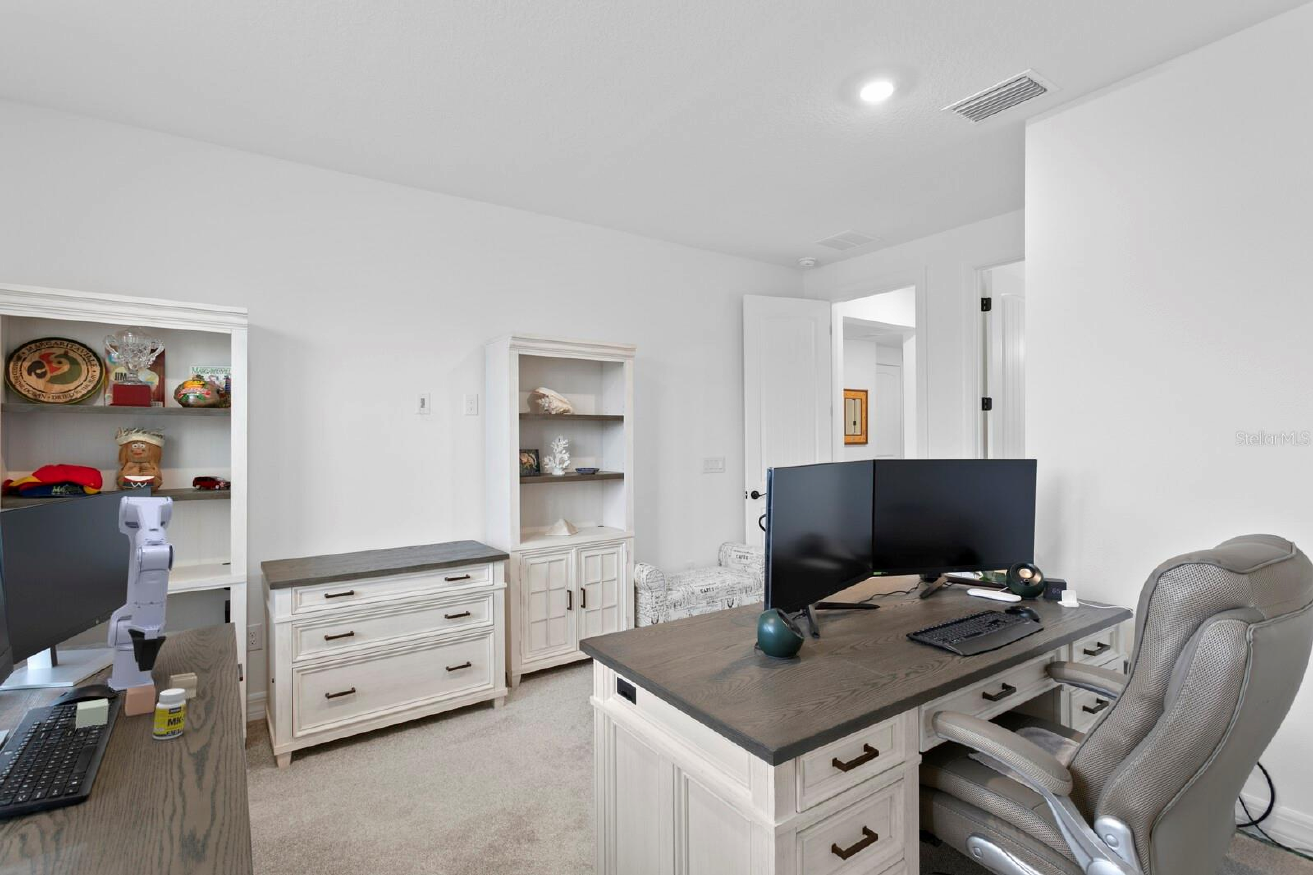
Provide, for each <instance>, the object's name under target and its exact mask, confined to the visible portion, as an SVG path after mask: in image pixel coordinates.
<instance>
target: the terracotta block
mask: <svg viewBox="0 0 1313 875" xmlns="http://www.w3.org/2000/svg"><path fill="white" fill-rule="evenodd" d="M156 693H157V689H156V687H155V684H154V685H148V686H141V687H134V688H127V689H126V695H125V704H124V712H125V715H126V717H131V716H136V715H143V714H148V713H149V714H150V713H153V712H155V707H156V703H155V702H156Z"/></svg>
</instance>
